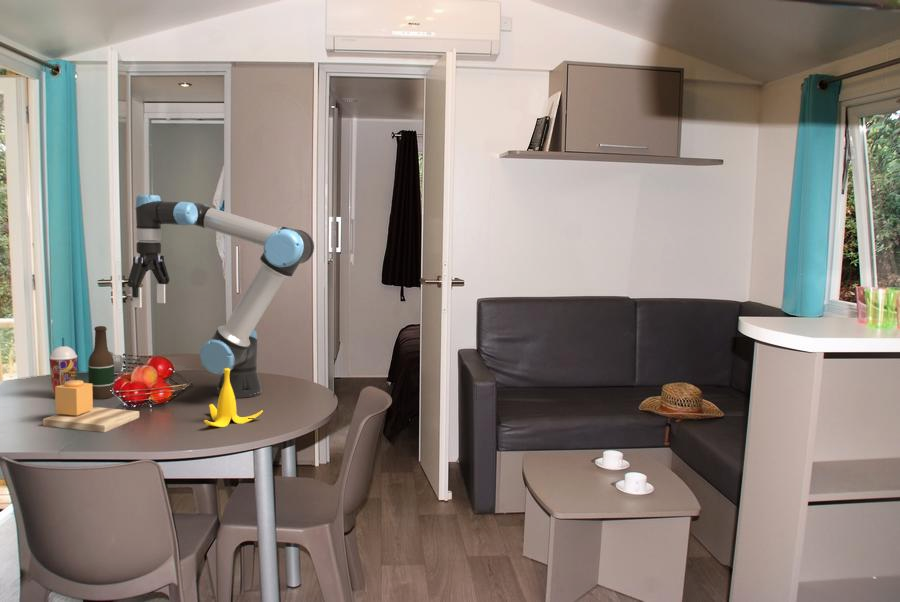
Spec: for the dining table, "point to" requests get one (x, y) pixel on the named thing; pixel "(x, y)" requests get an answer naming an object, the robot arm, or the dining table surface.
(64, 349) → the smoothie
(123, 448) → the dining table surface
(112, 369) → the beer bottle
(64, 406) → the orange cube with nub
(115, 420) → the board
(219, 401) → the banana peel
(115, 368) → the gray wire basket
